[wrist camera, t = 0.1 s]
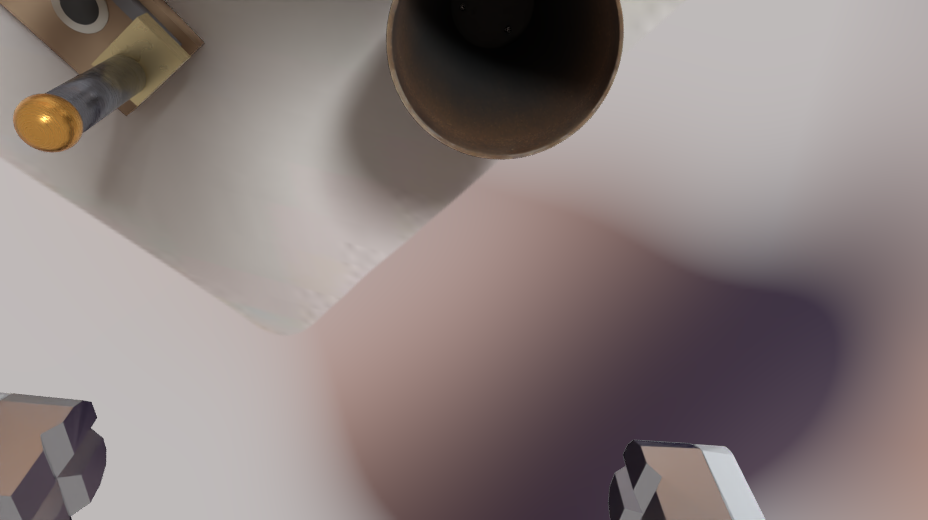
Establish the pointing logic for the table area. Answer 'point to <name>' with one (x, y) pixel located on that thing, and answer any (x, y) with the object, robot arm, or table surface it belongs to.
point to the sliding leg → (101, 87)
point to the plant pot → (503, 69)
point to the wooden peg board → (95, 27)
